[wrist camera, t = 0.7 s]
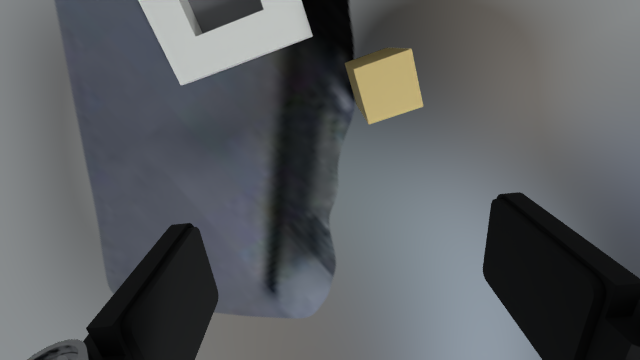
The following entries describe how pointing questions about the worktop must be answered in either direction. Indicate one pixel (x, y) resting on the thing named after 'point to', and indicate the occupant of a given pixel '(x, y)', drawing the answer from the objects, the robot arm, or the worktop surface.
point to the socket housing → (223, 32)
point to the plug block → (385, 83)
